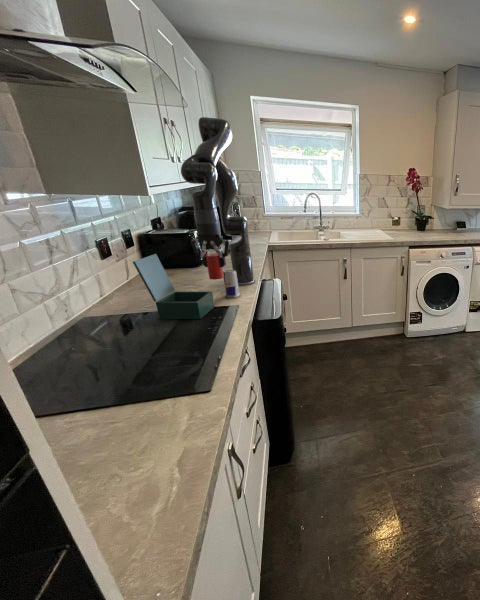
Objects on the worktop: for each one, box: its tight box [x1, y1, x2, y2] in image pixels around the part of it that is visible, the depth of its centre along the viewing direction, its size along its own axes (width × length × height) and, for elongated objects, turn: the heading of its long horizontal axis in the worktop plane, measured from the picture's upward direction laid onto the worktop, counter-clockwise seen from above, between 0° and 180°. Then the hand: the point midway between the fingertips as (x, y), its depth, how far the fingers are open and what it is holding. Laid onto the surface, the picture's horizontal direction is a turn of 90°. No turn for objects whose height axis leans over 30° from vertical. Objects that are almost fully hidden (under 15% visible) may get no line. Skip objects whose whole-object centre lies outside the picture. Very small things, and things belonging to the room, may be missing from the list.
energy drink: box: [223, 269, 240, 299], centre depth 145 cm, size 5×5×12 cm
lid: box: [132, 253, 176, 302], centre depth 122 cm, size 16×13×1 cm
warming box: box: [155, 290, 216, 320], centre depth 127 cm, size 15×13×7 cm
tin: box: [205, 252, 224, 281], centre depth 123 cm, size 5×5×9 cm
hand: (215, 266), depth 123 cm, fingers closed on tin, 5 cm apart
